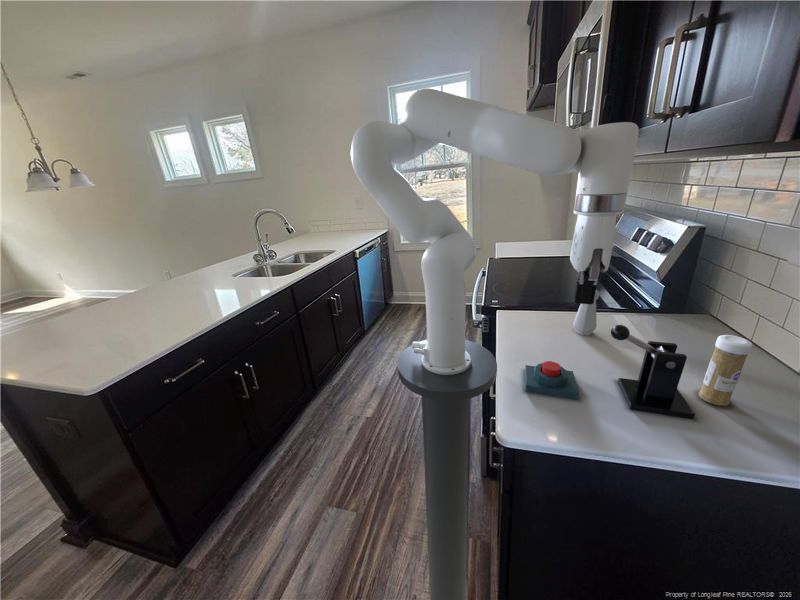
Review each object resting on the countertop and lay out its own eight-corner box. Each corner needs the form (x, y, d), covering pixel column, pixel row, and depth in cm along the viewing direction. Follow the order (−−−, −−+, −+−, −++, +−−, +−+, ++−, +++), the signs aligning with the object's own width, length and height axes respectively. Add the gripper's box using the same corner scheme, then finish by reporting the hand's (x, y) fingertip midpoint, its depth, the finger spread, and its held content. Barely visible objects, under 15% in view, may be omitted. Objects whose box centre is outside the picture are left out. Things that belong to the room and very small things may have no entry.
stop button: (542, 375, 68) (543, 369, 67) (541, 366, 71) (542, 360, 71) (560, 378, 67) (562, 371, 66) (559, 369, 70) (560, 362, 69)
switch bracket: (629, 409, 62) (643, 357, 57) (617, 382, 69) (628, 334, 65) (693, 419, 58) (713, 365, 54) (673, 389, 66) (688, 340, 62)
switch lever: (609, 337, 61) (620, 326, 59) (605, 330, 63) (616, 319, 62) (668, 370, 59) (681, 359, 58) (662, 361, 62) (674, 350, 61)
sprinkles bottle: (723, 410, 60) (747, 348, 55) (693, 397, 64) (713, 338, 59) (733, 401, 62) (757, 340, 57) (703, 389, 66) (723, 331, 61)
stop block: (525, 391, 68) (526, 378, 67) (524, 371, 75) (526, 358, 74) (577, 399, 65) (580, 385, 64) (571, 377, 72) (574, 364, 71)
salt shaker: (567, 329, 93) (573, 288, 88) (583, 326, 94) (590, 285, 89) (583, 338, 88) (591, 294, 83) (599, 334, 89) (608, 291, 84)
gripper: (569, 201, 63) (557, 288, 69) (581, 210, 50) (566, 316, 56) (613, 199, 60) (597, 290, 67) (638, 208, 47) (615, 320, 54)
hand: (583, 302), depth 61 cm, fingers closed
